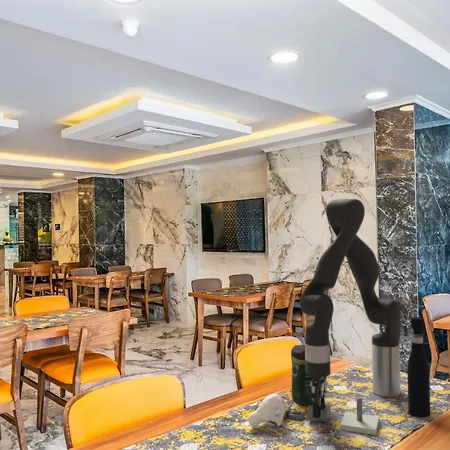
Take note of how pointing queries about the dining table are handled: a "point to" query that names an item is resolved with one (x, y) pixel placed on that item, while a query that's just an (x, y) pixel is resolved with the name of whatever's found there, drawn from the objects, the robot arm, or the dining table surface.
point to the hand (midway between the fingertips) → (319, 413)
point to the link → (324, 413)
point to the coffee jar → (300, 376)
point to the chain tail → (293, 414)
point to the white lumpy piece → (268, 411)
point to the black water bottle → (418, 373)
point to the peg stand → (359, 421)
